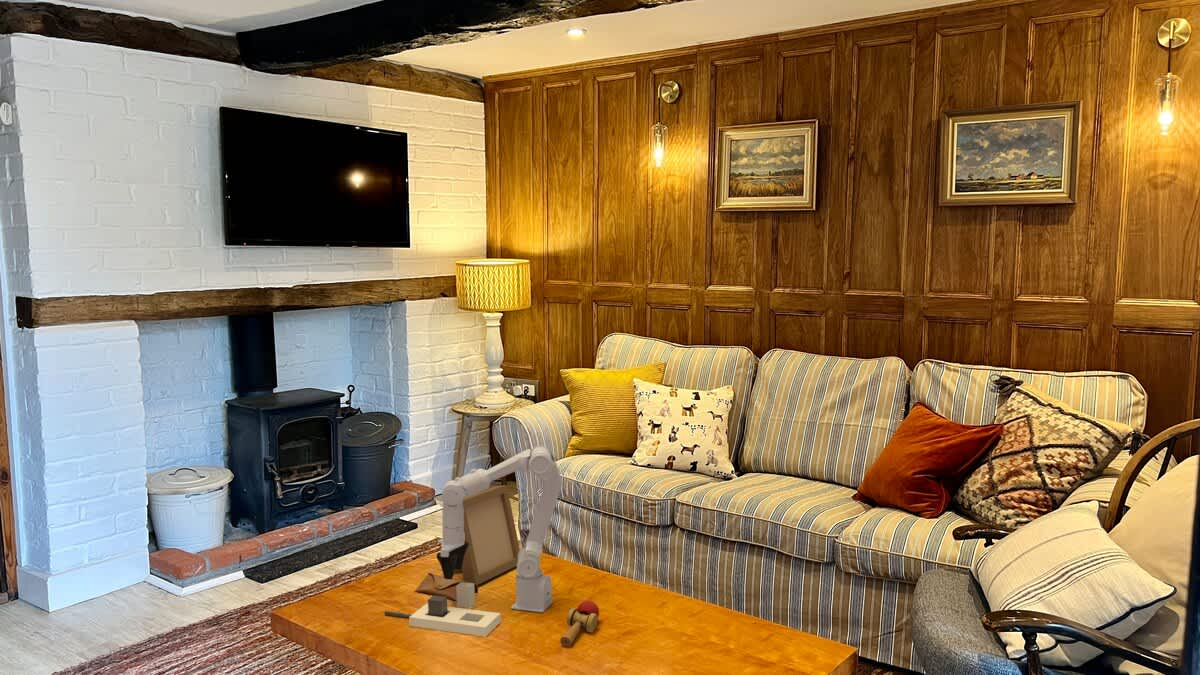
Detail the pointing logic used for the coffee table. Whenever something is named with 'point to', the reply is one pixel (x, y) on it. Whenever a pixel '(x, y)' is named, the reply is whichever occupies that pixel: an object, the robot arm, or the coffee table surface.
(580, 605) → the kendama
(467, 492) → the robot arm
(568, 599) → the coffee table surface
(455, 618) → the power strip
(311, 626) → the coffee table surface
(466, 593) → the beige plug
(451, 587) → the sunglasses case
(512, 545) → the photo frame
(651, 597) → the coffee table surface
